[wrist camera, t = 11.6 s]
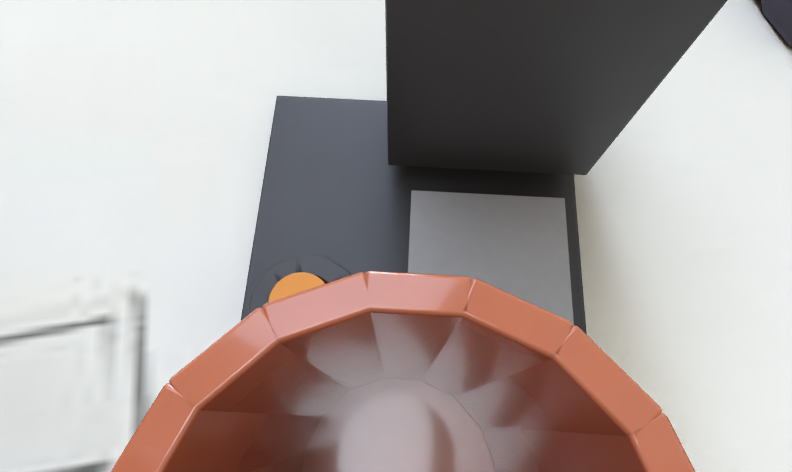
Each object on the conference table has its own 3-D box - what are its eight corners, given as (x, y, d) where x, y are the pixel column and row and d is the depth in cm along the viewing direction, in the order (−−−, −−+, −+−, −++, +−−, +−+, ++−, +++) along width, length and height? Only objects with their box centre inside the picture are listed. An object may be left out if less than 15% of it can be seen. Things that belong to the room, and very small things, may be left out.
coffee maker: (600, 330, 26) (1458, -18, 5) (377, 318, 27) (321, -69, 5) (578, 92, 32) (960, -566, 10) (393, 83, 32) (396, -585, 11)
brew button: (331, 340, 26) (327, 335, 25) (272, 337, 26) (263, 331, 25) (337, 283, 27) (333, 273, 26) (280, 280, 27) (272, 270, 26)
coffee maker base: (587, 385, 28) (605, 383, 25) (236, 366, 28) (221, 362, 26) (565, 114, 34) (579, 91, 32) (278, 100, 34) (269, 76, 32)
